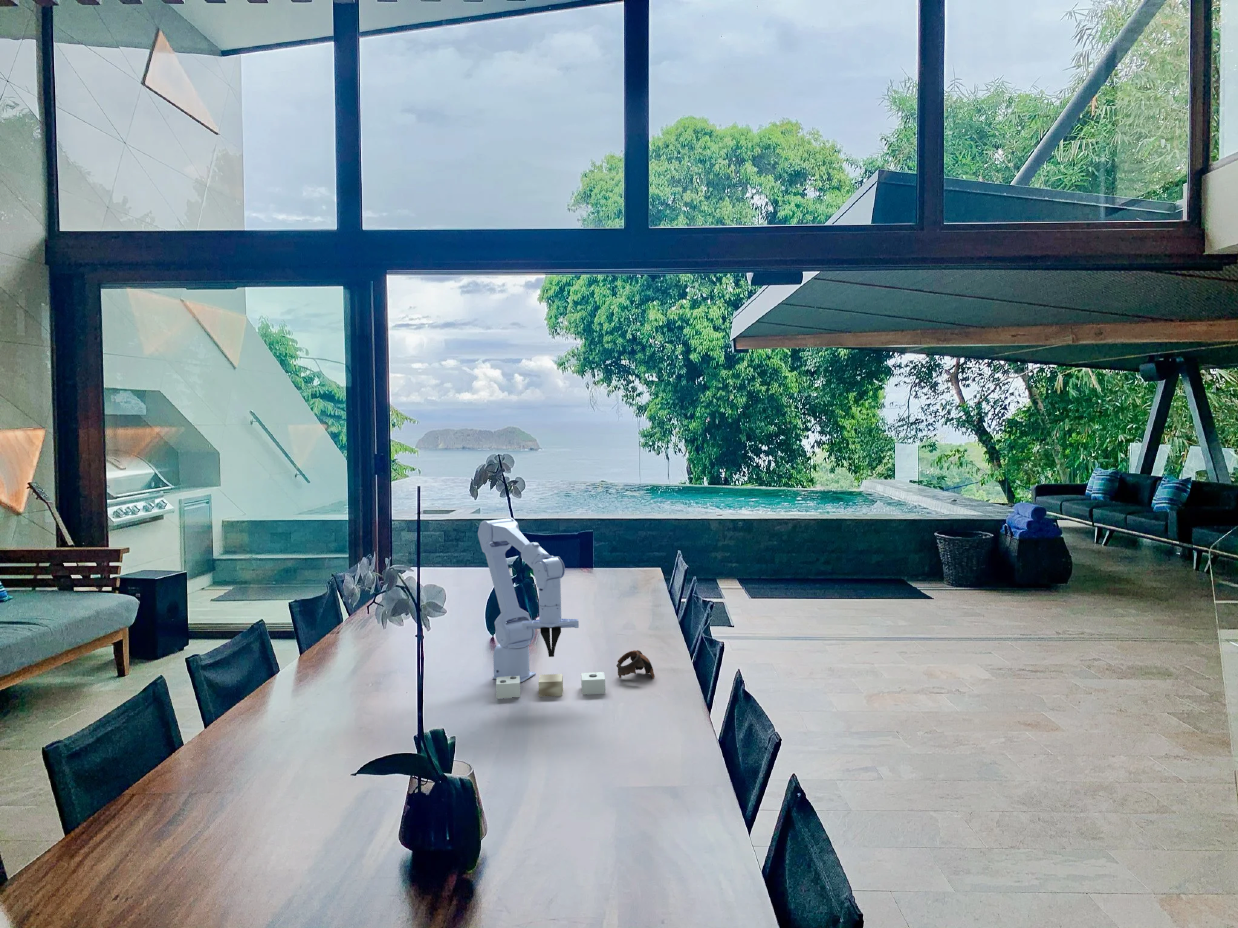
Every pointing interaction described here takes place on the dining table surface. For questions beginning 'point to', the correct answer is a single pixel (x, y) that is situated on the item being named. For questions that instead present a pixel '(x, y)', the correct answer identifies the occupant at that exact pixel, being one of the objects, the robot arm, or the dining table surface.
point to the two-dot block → (508, 687)
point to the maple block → (551, 685)
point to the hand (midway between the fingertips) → (551, 655)
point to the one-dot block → (593, 683)
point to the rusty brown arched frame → (634, 664)
